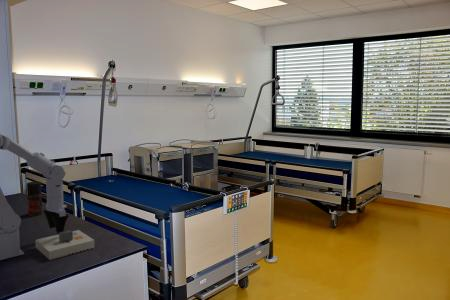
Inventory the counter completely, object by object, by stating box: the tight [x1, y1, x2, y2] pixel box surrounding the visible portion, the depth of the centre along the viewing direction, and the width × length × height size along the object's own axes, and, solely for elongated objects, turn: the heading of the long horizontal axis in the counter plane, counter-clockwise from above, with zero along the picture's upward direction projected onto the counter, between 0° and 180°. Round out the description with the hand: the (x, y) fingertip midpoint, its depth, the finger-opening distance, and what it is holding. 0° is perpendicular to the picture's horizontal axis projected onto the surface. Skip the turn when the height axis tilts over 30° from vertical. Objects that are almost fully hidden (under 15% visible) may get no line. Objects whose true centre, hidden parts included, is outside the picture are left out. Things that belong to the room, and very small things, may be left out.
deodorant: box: [26, 181, 43, 217], centre depth 176 cm, size 6×6×15 cm
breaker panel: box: [35, 229, 95, 261], centre depth 138 cm, size 16×14×3 cm
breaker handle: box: [58, 229, 73, 242], centre depth 137 cm, size 4×2×3 cm, turn 134°
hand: (56, 230), depth 144 cm, fingers open, 7 cm apart
